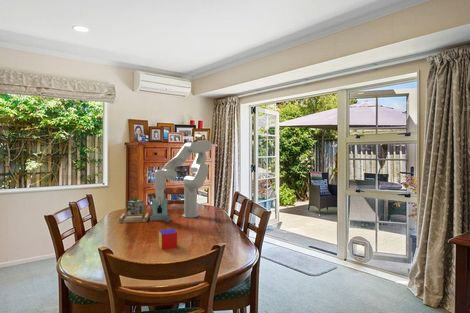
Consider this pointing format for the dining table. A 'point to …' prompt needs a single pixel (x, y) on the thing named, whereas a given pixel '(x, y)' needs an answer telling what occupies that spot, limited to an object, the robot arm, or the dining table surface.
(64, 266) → the dining table surface
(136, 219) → the beige rectangular block
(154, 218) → the stand
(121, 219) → the rack
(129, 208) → the chalk box
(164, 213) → the teal rectangular slab
